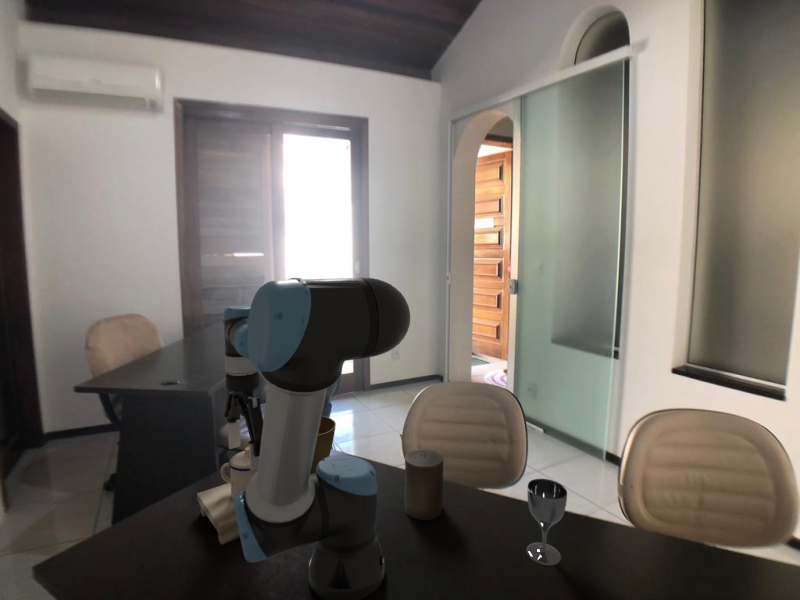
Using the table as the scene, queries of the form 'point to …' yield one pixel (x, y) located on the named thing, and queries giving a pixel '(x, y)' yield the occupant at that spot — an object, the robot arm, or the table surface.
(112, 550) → the table surface
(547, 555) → the wine glass
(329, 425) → the plant pot
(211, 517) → the birch shelf
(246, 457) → the teacup with lid
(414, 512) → the pillar candle
